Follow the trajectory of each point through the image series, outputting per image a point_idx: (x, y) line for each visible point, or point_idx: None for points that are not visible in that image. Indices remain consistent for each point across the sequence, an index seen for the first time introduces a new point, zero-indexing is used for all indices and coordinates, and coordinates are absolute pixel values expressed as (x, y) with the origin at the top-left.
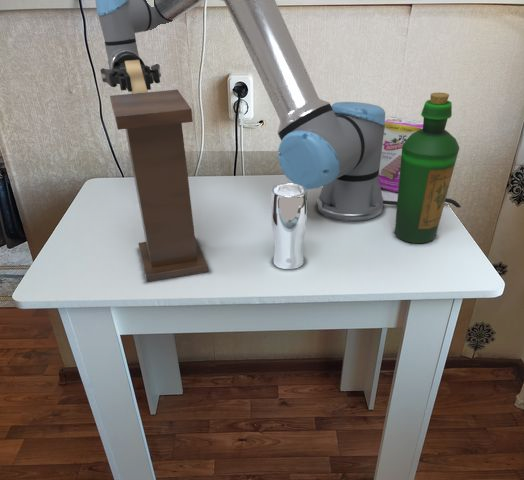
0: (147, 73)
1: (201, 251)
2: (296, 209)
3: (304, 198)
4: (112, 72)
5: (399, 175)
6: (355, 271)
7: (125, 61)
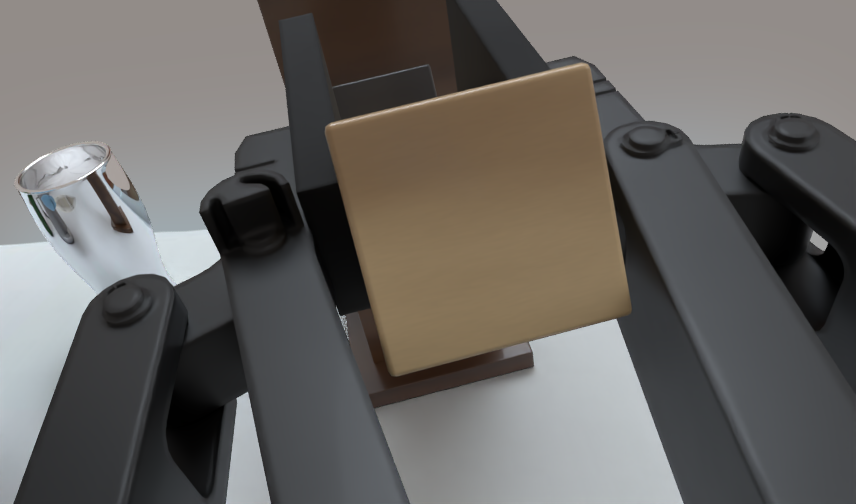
0: (284, 54)
1: (346, 314)
2: (87, 171)
3: (50, 165)
4: (852, 210)
5: None
6: (46, 291)
7: (570, 66)
